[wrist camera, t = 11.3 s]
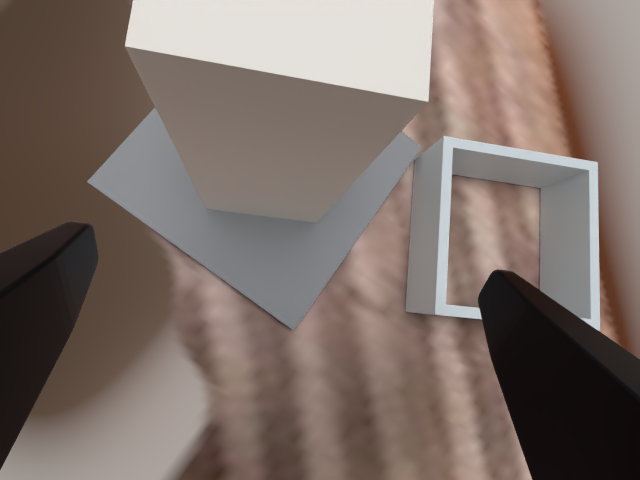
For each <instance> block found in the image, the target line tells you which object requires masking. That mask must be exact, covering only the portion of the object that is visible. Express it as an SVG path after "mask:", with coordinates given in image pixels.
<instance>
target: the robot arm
mask: <svg viewBox="0 0 640 480" xmlns="http://www.w3.org/2000/svg"><path fill="white" fill-rule="evenodd" d="M97 264H98V250H97V245H96V239H95V233H94V229H93V227H92V225H90V224H89V223H82V222H74V221H69V222H66V223H64V224H62V225H59V226H57V227H55V228H53V229H51V230H49V231H47V232H44V233H42V234H40V235H38V236H36V237H33V238H31V239H29V240H27V241H25V242H23V243H20V244H18V245H16V246H14V247H12V248H10V249H7V250H5V251H3V252H1V253H0V469H1V468H2V466H3V464H4V462H5V460H6V458H7V456H8V454H9V452H10V450H11V448H12V446H13V444H14V443H15V441H16V439H17V437H18V435H19V433H20V431H21V429H22V427H23V425H24V423H25V421H26V419H27V417H28V415H29V413H30V412H31V410H32V408H33V406H34V404H35V402H36V400H37V398H38V396H39V394H40V393H41V391H42V389H43V387H44V385H45V383H46V381H47V379H48V377H49V375H50V373H51V371H52V369H53V368H54V366H55V364H56V362H57V360H58V358H59V356H60V354H61V352H62V350H63V348H64V346H65V344H66V342H67V341H68V338H69V337H70V334H71V332H72V330H73V328H74V326H75V323H76V321H77V318H78V316H79V313H80V310H81V308H82V305H83V302H84V299H85V297H86V294H87V292H88V289H89V286H90V283H91V281H92V278H93V275H94V273H95V270H96V267H97ZM478 304H479V309H480V313H481V318H482V322H483V326H484V331H485V335H486V340H487V344H488V348H489V352H490V356H491V360H492V363H493V366H494V369H495V372H496V375H497V378H498V381H499V384H500V387H501V390H502V393H503V396H504V399H505V401H506V404H507V407H508V410H509V413H510V416H511V419H512V422H513V425H514V428H515V431H516V433H517V436H518V439H519V442H520V445H521V448H522V451H523V454H524V457H525V460H526V463H527V465H528V468H529V471H530V474H531V477H532V480H640V359H638V358H637V357H635V356H634V355H633V354H631V353H630V352H628V351H627V350H625V349H624V348H622V347H621V346H620V345H618V344H617V343H615V342H614V341H612V340H611V339H609V338H608V337H607V336H605V335H604V334H602V333H601V332H599V331H598V330H596V329H595V328H594V327H592V326H591V325H589V324H588V323H586V322H585V321H583V320H582V319H581V318H579V317H578V316H576V315H575V314H573V313H572V312H570V311H569V310H568V309H566V308H565V307H563V306H562V305H560V304H559V303H557V302H556V301H554V300H553V299H552V298H550V297H549V296H547V295H546V294H544V293H543V292H541V291H540V290H539V289H537V288H536V287H534V286H533V285H531V284H530V283H528V282H527V281H526V280H524V279H523V278H521V277H520V276H518V275H517V274H515V273H514V272H512V271H506V270H495V271H493V272H492V273H491V274H490V276H489V278H488V280H487V281H486V283H485V285H484V287H483V288H482V290H481V292H480V294H479V297H478Z"/></svg>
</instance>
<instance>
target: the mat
mask: <svg viewBox="0 0 640 480" xmlns="http://www.w3.org/2000/svg"><path fill="white" fill-rule="evenodd" d="M420 149H421V146H420V145H418V144H417V143H416V142H415V141H413V140H412V139H411V138H409V137H408V136H407V135H405V134H404V133H403V132H402V131H401V132H400V133H399V134H398V135H397V136H396V137H395V138H394V139H393V141H392V142H391V143H390V144H389V145H388V146H387V147H386V148H385V149H384V150H383V151H382V152H381V154H380V155H379V156H378V157H377V158H376V159H375V160H374V161H373V162H372V163H371V164H370V165H369V167H368V168H367V169H366V170H365V171H364V172H363V173H362V174H361V175H360V176H359V177H358V179H357V180H356V181H355V182H354V183H353V184H352V185H351V186H350V187H349V188H348V189H347V190H346V192H345V193H344V194H343V195H342V196H341V197H340V198H339V199H338V200H337V201H336V202H335V203H334V205H333V206H332V207H331V208H330V209H329V210H328V211H327V212H326V213H325V214H324V215H323V217H322V218H321V219H320V220H319V221H318V222H317V223H314V222H306V221H298V220H290V219H282V218H274V217H266V216H258V215H250V214H242V213H234V212H227V211H219V210H211V209H206V208H205V206H204V204H203V202H202V200H201V198H200V196H199V194H198V192H197V190H196V188H195V186H194V184H193V182H192V180H191V178H190V176H189V174H188V172H187V170H186V168H185V166H184V164H183V162H182V160H181V158H180V156H179V154H178V152H177V150H176V148H175V146H174V144H173V142H172V140H171V138H170V136H169V134H168V132H167V130H166V128H165V126H164V124H163V122H162V120H161V118H160V116H159V114H158V112H157V110H156V108H154V109H153V110H152V111H151V112H150V114H149V115H148V116H147V117H146V118H145V119H144V120H143V121H142V122H141V123H140V125H138V127H137V128H136V129H135V130H134V131H133V132H132V133H131V134H130V135H129V137H128V138H127V139H126V140H125V141H124V142H123V143H122V144H121V145H120V146H119V147H118V148H117V150H116V151H115V152H114V153H113V154H112V155H111V156H110V157H109V158H108V160H107V161H106V162H105V163H104V164H103V165H102V166H101V167H100V168H99V169H98V170H97V171H96V173H95V174H94V175H93V176H92V177H91V178H90V179H89V180H88V181H87V182H88V183H90V184H91V185H92V186H94V187H95V188H97V189H98V190H99V191H101V192H102V193H104V194H105V195H106V196H108V197H109V198H110V199H112V200H113V201H115V202H116V203H117V204H119V205H120V206H122V207H123V208H124V209H126V210H127V211H128V212H130V213H131V214H133V215H134V216H135V217H137V218H138V219H140V220H141V221H142V222H144V223H145V224H146V225H148V226H149V227H151V228H152V229H153V230H155V231H156V232H158V233H159V234H160V235H162V236H163V237H164V238H166V239H167V240H169V241H170V242H171V243H173V244H174V245H176V246H177V247H178V248H180V249H181V250H182V251H184V252H185V253H187V254H188V255H189V256H191V257H192V258H194V259H195V260H196V261H198V262H199V263H201V264H202V265H203V266H205V267H206V268H207V269H209V270H210V271H212V272H213V273H214V274H216V275H217V276H219V277H220V278H221V279H223V280H224V281H225V282H227V283H228V284H230V285H231V286H232V287H234V288H235V289H237V290H238V291H239V292H241V293H242V294H244V295H245V296H246V297H248V298H249V299H250V300H252V301H253V302H255V303H256V304H257V305H259V306H260V307H262V308H263V309H264V310H266V311H267V312H268V313H270V314H271V315H273V316H274V317H275V318H277V319H278V320H280V321H281V322H282V323H284V324H285V325H287V326H288V327H289V328H291V329H292V330H293V331H294V330H295V328H296V327H297V325H298V324H299V323H300V321H301V320H302V318H303V317H304V315H305V314H306V313H307V311H308V310H309V308H310V307H311V305H312V304H313V302H314V301H315V300H316V298H317V297H318V295H319V294H320V292H321V291H322V290H323V288H324V287H325V285H326V284H327V282H328V281H329V280H330V278H331V277H332V275H333V274H334V272H335V271H336V269H337V268H338V267H339V265H340V264H341V262H342V261H343V259H344V258H345V257H346V255H347V254H348V252H349V251H350V249H351V248H352V246H353V245H354V244H355V242H356V241H357V239H358V238H359V236H360V235H361V234H362V232H363V231H364V229H365V228H366V226H367V225H368V224H369V222H370V221H371V219H372V218H373V216H374V215H375V213H376V212H377V211H378V209H379V208H380V206H381V205H382V203H383V202H384V201H385V199H386V198H387V196H388V195H389V193H390V192H391V191H392V189H393V188H394V186H395V185H396V183H397V182H398V180H399V179H400V178H401V176H402V175H403V173H404V172H405V170H406V169H407V168H408V166H409V165H410V163H411V162H412V160H413V159H414V157H415V156H416V155H417V153H418V152H419V150H420Z"/></svg>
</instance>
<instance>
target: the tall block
mask: <svg viewBox="0 0 640 480" xmlns="http://www.w3.org/2000/svg"><path fill="white" fill-rule="evenodd" d="M433 6H434V0H133V5H132V10H131V16H130V21H129V27H128V32H127V38H126V43H125V47H126V49H127V52H128V53H129V56H130V58H131V60H132V61H133V63H134V66H135V67H136V70H137V72H138V74H139V76H140V77H141V80H142V82H143V83H144V86H145V88H146V90H147V92H148V94H149V96H150V98H151V100H152V102H153V104H154V106H155V108H156V110H157V112H158V114H159V116H160V118H161V120H162V122H163V124H164V126H165V128H166V130H167V132H168V134H169V136H170V138H171V140H172V142H173V144H174V146H175V148H176V150H177V152H178V154H179V156H180V158H181V160H182V162H183V164H184V166H185V168H186V170H187V172H188V174H189V176H190V178H191V180H192V182H193V184H194V186H195V188H196V190H197V192H198V194H199V196H200V198H201V200H202V202H203V204H204V206H205V208H206V209H211V210H219V211H227V212H234V213H242V214H250V215H258V216H266V217H274V218H282V219H290V220H298V221H306V222H314V223H317V222H318V221H319V220H320V219H321V218H322V217H323V215H324V214H325V213H326V212H327V211H328V210H329V209H330V208H331V207H332V206H333V205H334V203H335V202H336V201H337V200H338V199H339V198H340V197H341V196H342V195H343V194H344V193H345V192H346V190H347V189H348V188H349V187H350V186H351V185H352V184H353V183H354V182H355V181H356V180H357V179H358V177H359V176H360V175H361V174H362V173H363V172H364V171H365V170H366V169H367V168H368V167H369V165H370V164H371V163H372V162H373V161H374V160H375V159H376V158H377V157H378V156H379V155H380V154H381V152H382V151H383V150H384V149H385V148H386V147H387V146H388V145H389V144H390V143H391V142H392V141H393V139H394V138H395V137H396V136H397V135H398V134H399V133H400V132H401V131H402V130H403V129H404V127H405V126H406V125H407V124H408V123H409V122H410V121H411V120H412V119H413V118H414V117H415V116H416V114H417V113H418V112H419V111H420V110H421V109H422V108H423V107H424V106H425V105H426V104H427V103H428V97H429V79H430V60H431V42H432V24H433Z"/></svg>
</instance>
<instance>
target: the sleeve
mask: <svg viewBox="0 0 640 480" xmlns="http://www.w3.org/2000/svg"><path fill="white" fill-rule="evenodd" d="M452 175H459V176H465V177H471V178H478V179H484V180H491V181H497V182H504V183H510V184H517V185H523V186H529V187H536V188H541V191H540V291H541V292H543V293H544V294H546V295H547V296H549V297H550V298H552V299H553V300H554V301H556V302H557V303H559V304H560V305H562V306H563V307H565V308H566V309H568V310H569V311H570V312H572V313H573V314H575V315H576V316H578V317H579V318H581V319H582V320H583V321H585V322H586V323H588V324H589V325H591V326H592V327H594V328H595V329H596V330H600V295H599V229H598V228H599V227H598V225H599V224H598V163H597V162H593V161H587V160H581V159H575V158H569V157H564V156H558V155H552V154H546V153H540V152H534V151H529V150H523V149H517V148H511V147H505V146H499V145H493V144H488V143H482V142H476V141H470V140H464V139H458V138H453V137H447V136H443V137H442V138H441V139H440V140H438V141H437V142H436V143H435V144H433V145H432V146H431V147H430V148H429V149H427V150H426V151H425V152H424V153H422V154H421V155H420V156H419V157H418V158H416V159H415V160H414V176H413V192H412V209H411V225H410V242H409V258H408V275H407V292H406V308H405V312H412V313H422V314H432V315H442V316H453V317H463V318H474V319H482V318H481V313H480V309H479V308H475V307H465V306H455V305H446V291H447V269H448V247H449V224H450V202H451V180H452Z"/></svg>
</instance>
